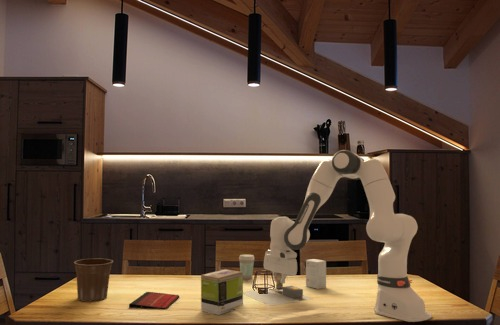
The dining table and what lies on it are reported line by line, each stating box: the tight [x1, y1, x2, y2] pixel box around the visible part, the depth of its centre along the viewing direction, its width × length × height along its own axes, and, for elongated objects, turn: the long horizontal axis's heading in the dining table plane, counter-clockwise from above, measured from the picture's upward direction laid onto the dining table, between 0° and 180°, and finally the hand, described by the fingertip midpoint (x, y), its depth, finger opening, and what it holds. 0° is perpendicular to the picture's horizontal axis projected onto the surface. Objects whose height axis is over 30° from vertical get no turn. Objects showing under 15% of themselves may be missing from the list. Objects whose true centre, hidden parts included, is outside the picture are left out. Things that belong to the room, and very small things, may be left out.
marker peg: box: [275, 273, 284, 290], centre depth 211 cm, size 3×3×7 cm
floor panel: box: [243, 286, 313, 307], centre depth 203 cm, size 26×22×2 cm
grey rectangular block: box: [283, 285, 304, 299], centre depth 202 cm, size 8×5×4 cm, turn 32°
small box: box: [305, 258, 327, 290], centre depth 227 cm, size 8×6×13 cm
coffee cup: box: [238, 253, 255, 280], centre depth 246 cm, size 9×8×12 cm
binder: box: [128, 291, 180, 310], centre depth 196 cm, size 16×2×21 cm
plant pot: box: [73, 258, 114, 302], centre depth 201 cm, size 16×16×16 cm
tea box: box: [200, 268, 244, 316], centre depth 186 cm, size 15×10×15 cm, turn 141°
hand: (279, 282), depth 211 cm, fingers closed on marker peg, 3 cm apart
